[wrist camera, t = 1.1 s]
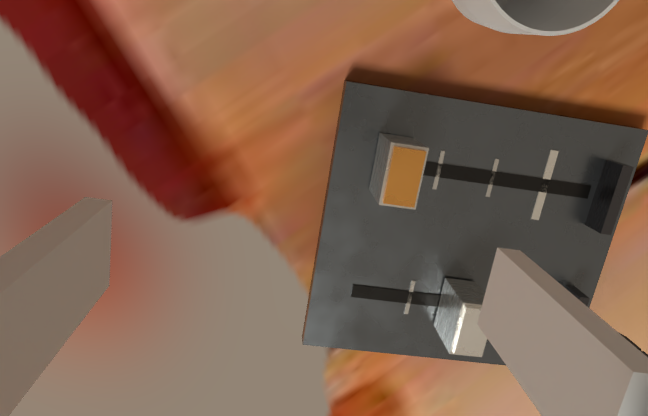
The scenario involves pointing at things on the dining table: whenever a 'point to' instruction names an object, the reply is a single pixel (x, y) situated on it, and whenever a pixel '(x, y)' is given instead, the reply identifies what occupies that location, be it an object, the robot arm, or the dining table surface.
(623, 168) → the console
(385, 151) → the near fader
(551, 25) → the cup
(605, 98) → the dining table surface
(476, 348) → the far fader
